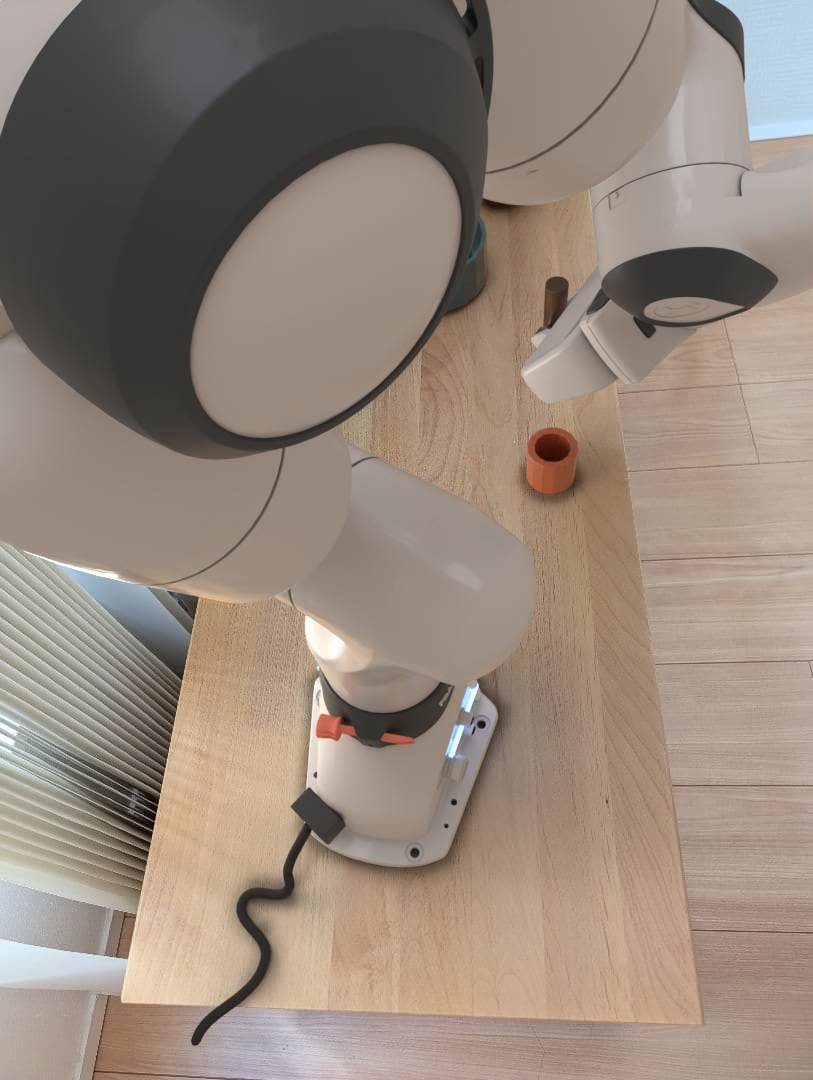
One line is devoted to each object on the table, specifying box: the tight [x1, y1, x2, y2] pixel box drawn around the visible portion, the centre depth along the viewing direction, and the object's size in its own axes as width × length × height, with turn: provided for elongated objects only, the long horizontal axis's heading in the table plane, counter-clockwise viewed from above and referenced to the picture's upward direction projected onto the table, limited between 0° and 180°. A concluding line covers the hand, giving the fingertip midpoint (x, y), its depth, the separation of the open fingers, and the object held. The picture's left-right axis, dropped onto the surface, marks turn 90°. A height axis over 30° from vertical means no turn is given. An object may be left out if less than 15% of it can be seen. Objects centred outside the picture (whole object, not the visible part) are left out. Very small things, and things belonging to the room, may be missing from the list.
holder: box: [525, 426, 579, 495], centre depth 87 cm, size 5×6×6 cm
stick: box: [542, 275, 570, 327], centre depth 72 cm, size 2×2×12 cm
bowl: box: [446, 216, 489, 313], centre depth 105 cm, size 15×15×7 cm
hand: (547, 329), depth 72 cm, fingers closed on stick, 2 cm apart
